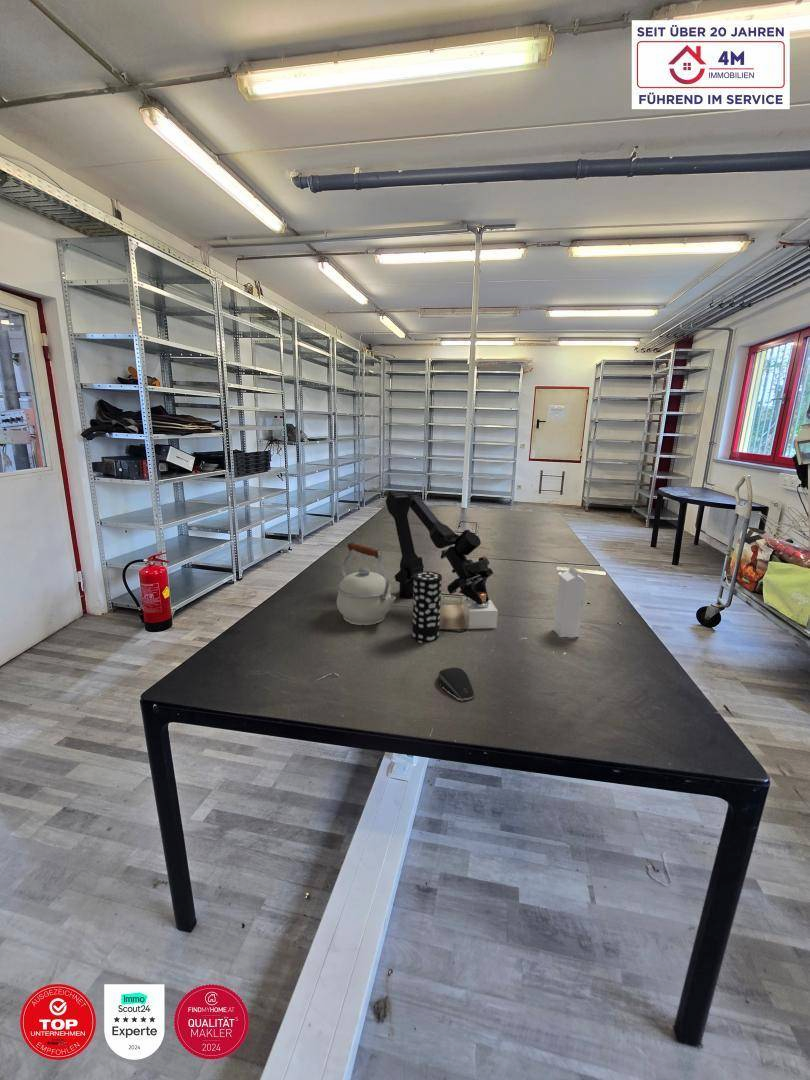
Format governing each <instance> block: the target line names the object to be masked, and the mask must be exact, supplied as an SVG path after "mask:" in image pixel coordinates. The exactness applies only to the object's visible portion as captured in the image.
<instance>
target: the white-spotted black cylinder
mask: <svg viewBox="0 0 810 1080" xmlns="http://www.w3.org/2000/svg"><path fill="white" fill-rule="evenodd" d="M442 579H443V576H442V574H440V573H438V572H434V571H427V570H425V571H424V570H423V572H418V573H415V574H414V589H413V598H412V627H411V630H412V632H411V633H412V634H411V637H412V640H413V641H415V642H417V643H420V644H425V643H432V642H435V641H437V640H439V639H440V629H439V628H440V607H441V605H442V604H441V603H442V602H441V601H442V586H443V585H442V582H443V580H442Z"/></svg>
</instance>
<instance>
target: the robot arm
mask: <svg viewBox="0 0 810 1080" xmlns="http://www.w3.org/2000/svg"><path fill="white" fill-rule="evenodd" d="M385 505H386V508H387V511H388V513H389V514H390V515H391V517H392V518H393V519H394V524H395V528H396V533H397V538H398V543H399V548H400V552H401V559H400V562H399V569H400V570H398V572H397V573H396V574H394V578H395V582H396V583H399V584H398V587H399V588H398V598H399V599H413V589H414V574H415V573H418V572H423V571H424V568H425V566H424V563H423V562H424V561H423V558H422V556H418V555H417V553H416V552H415V546H414V541H413V536H412V531H411V528H410V522H409V518H408V515H409V511H410V509H411V510H412V511H413V513H414V514H415V515H416V517H417V518H418V519H419V520H420V522H421V523H422V524H423V525H424V527H426V530H428V533H429V538H430V540H431V542H432V543H433V545H434V547H436V548H437V549H443V550H441V555H440V559H441V560H443V559H447V561H448V562H449V564H450V566H451V568H452V570H451V573H452V574H455V573H456V574H455V575H457V577H458V578H455V579H454V580H452V581H451V582H450V583H449V584H448V585H447V587H446V589H447V592H448V593H449V595H452V594H455V593H457V590H458V589H460V591H458V593H459V594H462V595H464V596H466V597H468V598H469V600H473V601H475V602H476V603H478V604H479V605H481V604H482V600H481V598H480V597H479V595H478V593H477V592H484V593H486V602H488V601H489V600H490V599H489V595H488V592H487V591H488V590H487V585H486V583H487V580H488V578H490V577H491V576H492V575H494V571H493V569H492V568H490V567H489V565H490V561H489V559H488V558H487V556H481V557H479V558H478V560H477V561H473V560H472V558H471V559H468V558H467V556H469V555H470V554H471V553H473V551H475V550H476V549H478V548H479V547H480V546H481V544H482V543H481V539H480V537H479V535H477V534H476V533H474V532H472V531H470V529H465V530H463V531H462V533H461V534H460V535H459V534H457V533H456V532H454V530H452V529H451V528H450V527H449V526H448V525H446V524H444V523H442V522H441V521H440V520H439V519H438V518H437V517H436V515H435V514H434V513H433V511H431V509H430V508H429V507H428V505H427V504H426V503H425V502H424V501H423V499H422V497H421V495H418V494H415V495H413V494H410V495H409V494H408V495H407V494H406V493H404V492H398V493H391V494H388V495H387V497H386V499H385ZM445 548H447V549H445Z"/></svg>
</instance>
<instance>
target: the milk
mask: <svg viewBox="0 0 810 1080" xmlns="http://www.w3.org/2000/svg"><path fill="white" fill-rule="evenodd" d="M558 576H559V577H558V585H557V586H558V587H557V594H556V602H555V610H554V620H553V628H552V629H554V630H555V631H554V630H553V631H554V633H557V634H558V635H559V636H558V635H557V634H556V635H557V636H558V637H559V638H560V637H580V631H581V623H582V617H583V610H584V609H583V608H584V601H585V594H586V588H587V587H586V586H587V580H585V579H584V578H583V577H582V576H580V575H579V571H578V569H576V568H574V567H573V566H572V565H569V568H568V570H566V571H565V572H562V573H560V574H559V575H558Z"/></svg>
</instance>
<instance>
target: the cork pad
mask: <svg viewBox="0 0 810 1080" xmlns="http://www.w3.org/2000/svg"><path fill="white" fill-rule="evenodd" d="M463 614H464V604H441V607H440V628H439V630H453V629H455V630H456V629H457V630H460V629H461V630H462V629H465V630H466V629H467V630H468V629H471V630H472V629H474V630H475V629H480V628H468V625H467V623H466V621H465V619H464V617H463Z"/></svg>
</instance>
